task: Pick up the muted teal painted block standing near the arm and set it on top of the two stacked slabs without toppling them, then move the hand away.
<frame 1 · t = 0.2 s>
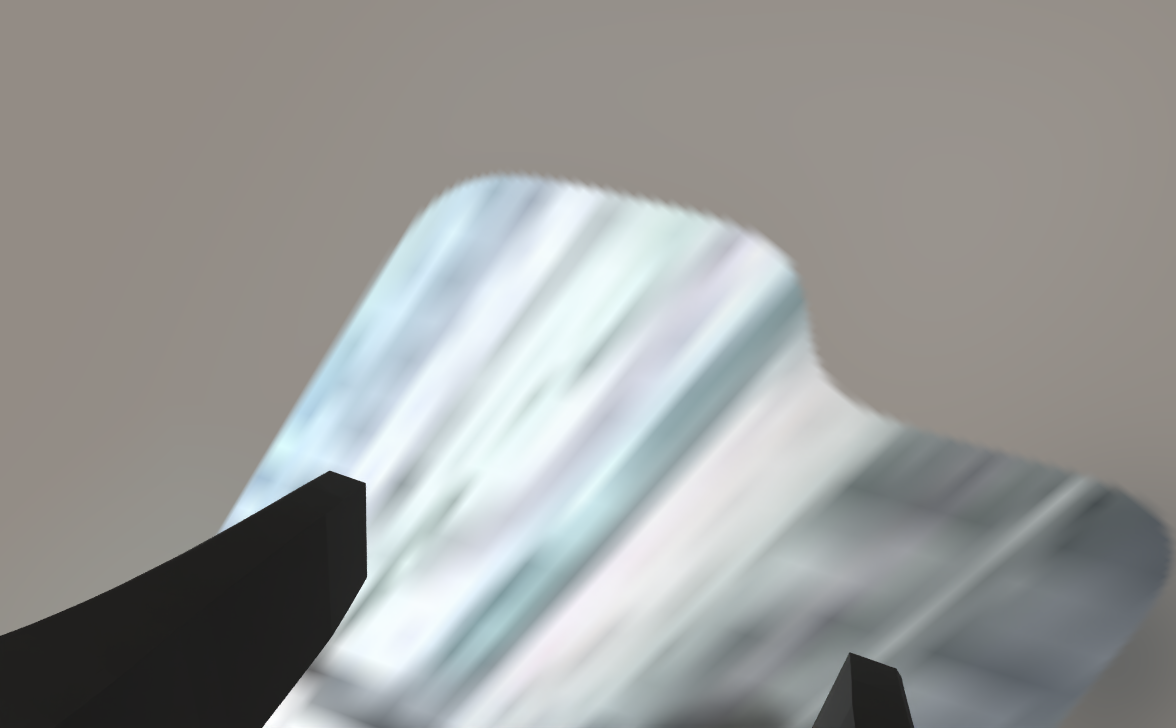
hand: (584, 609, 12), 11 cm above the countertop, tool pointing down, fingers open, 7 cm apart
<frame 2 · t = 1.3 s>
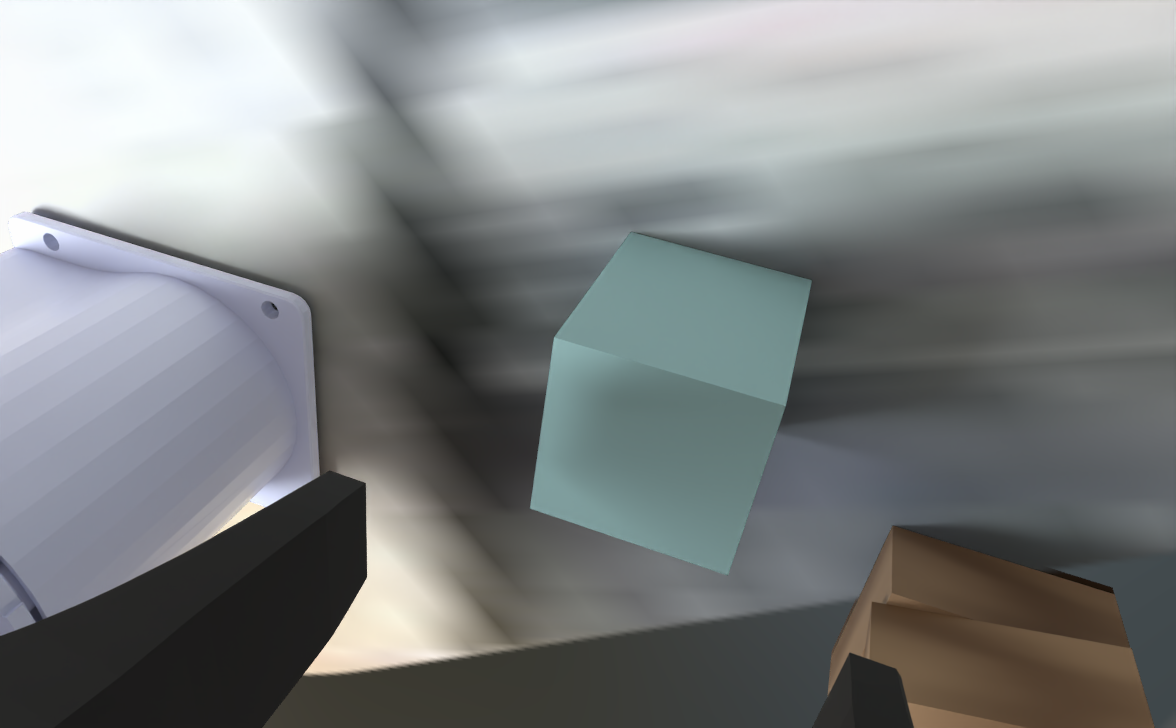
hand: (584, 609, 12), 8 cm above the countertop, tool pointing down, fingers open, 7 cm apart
tower base: (959, 622, 21), on the countertop
teal block: (700, 333, 19), on the countertop
tower top: (975, 702, 19), point 2 cm above the countertop
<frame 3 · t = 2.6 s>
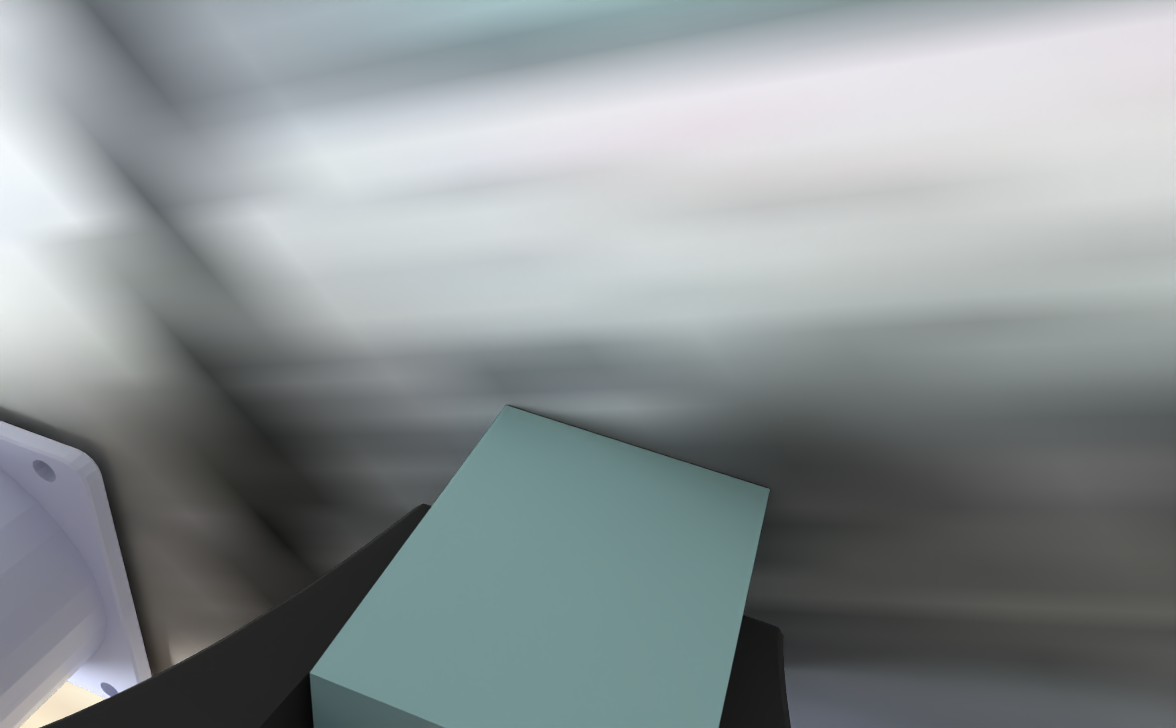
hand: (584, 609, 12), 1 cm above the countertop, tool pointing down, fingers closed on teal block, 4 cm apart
teal block: (612, 543, 13), on the countertop, touching gripper
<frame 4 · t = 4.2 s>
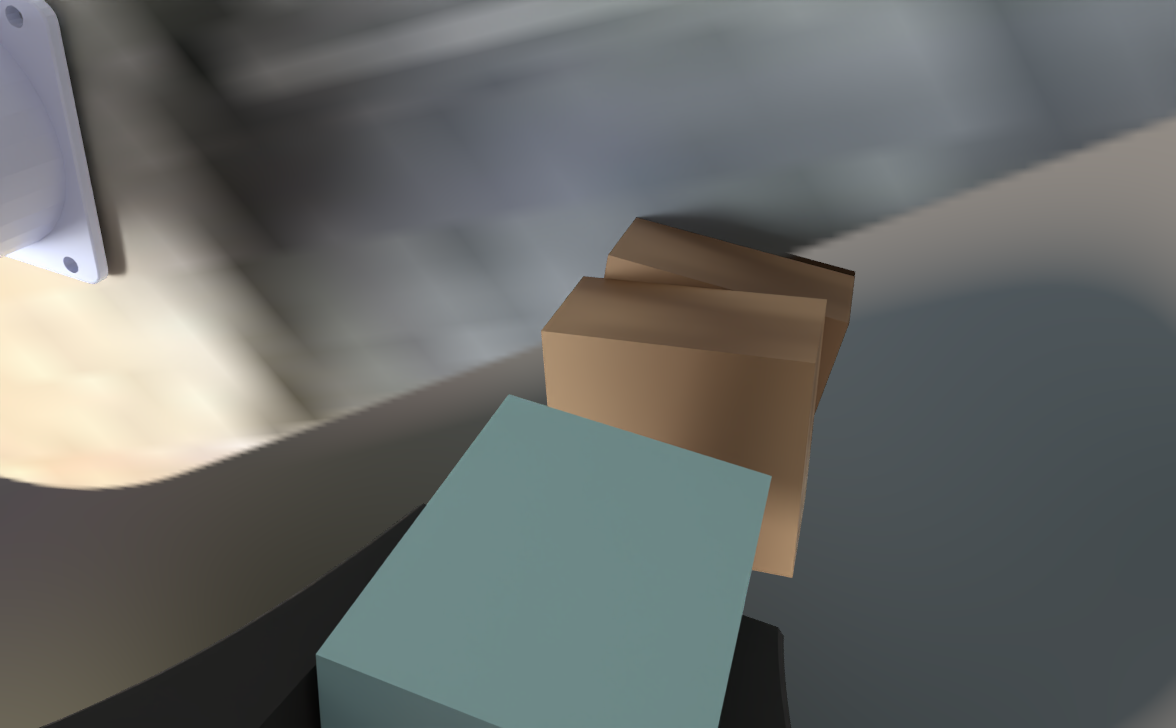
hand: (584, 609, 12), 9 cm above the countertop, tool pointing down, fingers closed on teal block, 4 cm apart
tower base: (719, 334, 20), on the countertop, touching tower top
teal block: (615, 532, 13), point 8 cm above the countertop, touching gripper
tower top: (697, 391, 18), point 2 cm above the countertop, touching tower base
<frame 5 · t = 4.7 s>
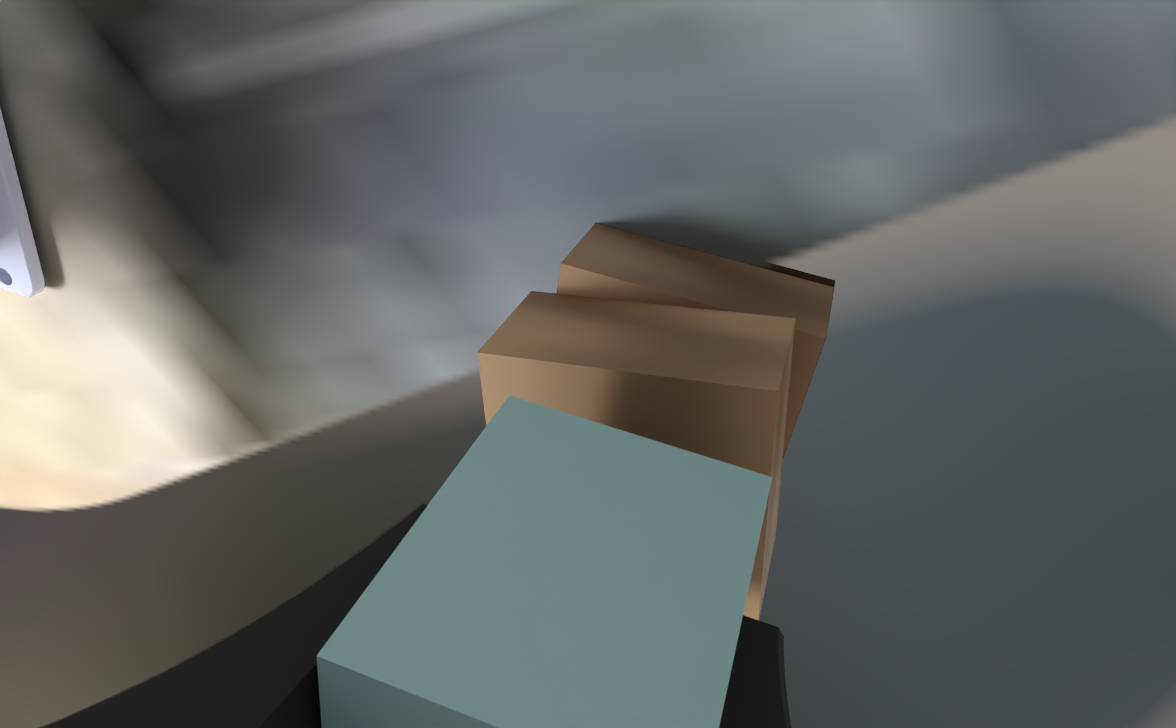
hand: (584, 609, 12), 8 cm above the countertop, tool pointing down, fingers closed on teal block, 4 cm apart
tower base: (689, 349, 18), on the countertop, touching tower top
teal block: (615, 533, 13), point 6 cm above the countertop, touching gripper
tower top: (657, 416, 17), point 2 cm above the countertop, touching tower base
when the fingers open (7 cm above the countertop, at t = 5.1 s): teal block drops 1 cm, resting on tower top.
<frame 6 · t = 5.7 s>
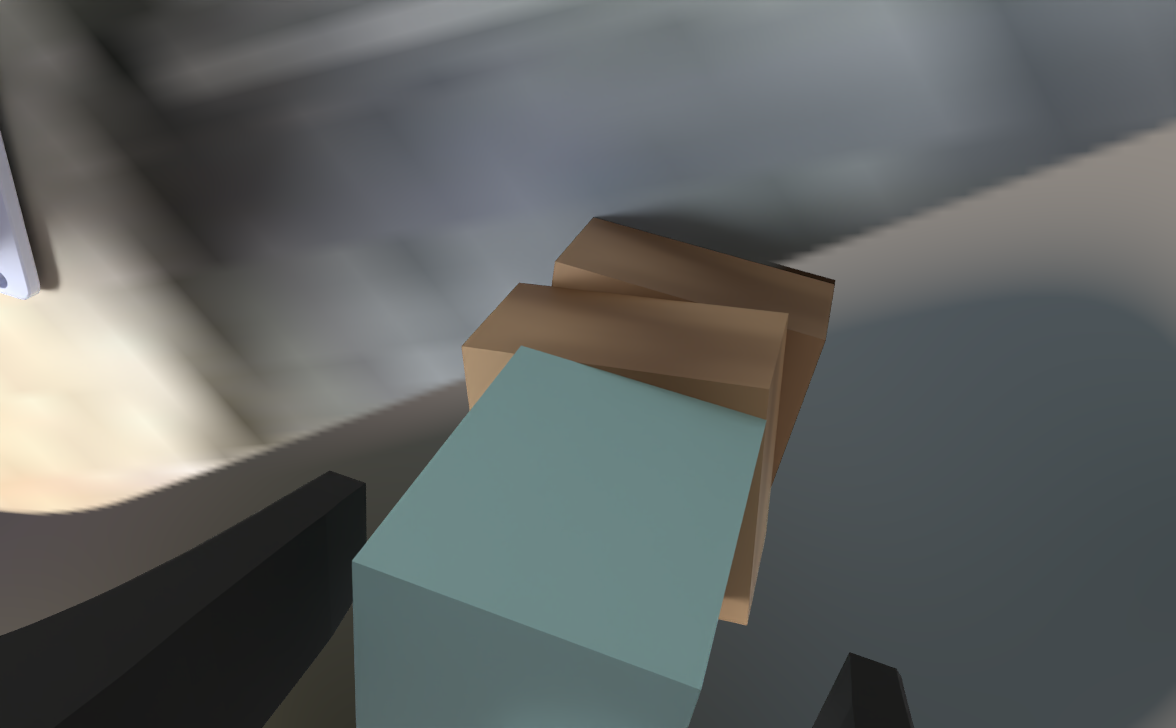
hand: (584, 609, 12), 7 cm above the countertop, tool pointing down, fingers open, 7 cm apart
tower base: (686, 348, 18), on the countertop
teal block: (619, 477, 14), point 5 cm above the countertop, touching tower top
tower top: (646, 412, 16), point 2 cm above the countertop, touching teal block
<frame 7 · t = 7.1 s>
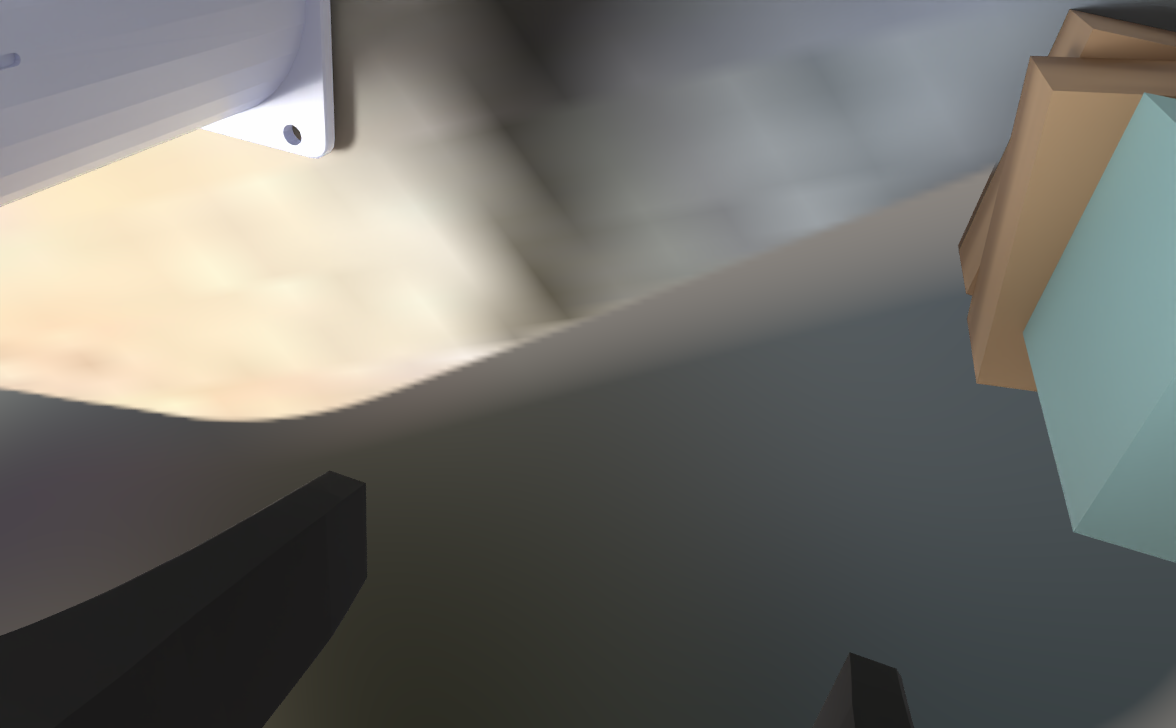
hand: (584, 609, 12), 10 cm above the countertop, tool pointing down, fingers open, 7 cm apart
tower base: (1136, 167, 16), on the countertop, touching tower top
tower top: (1150, 210, 15), point 2 cm above the countertop, touching teal block, tower base
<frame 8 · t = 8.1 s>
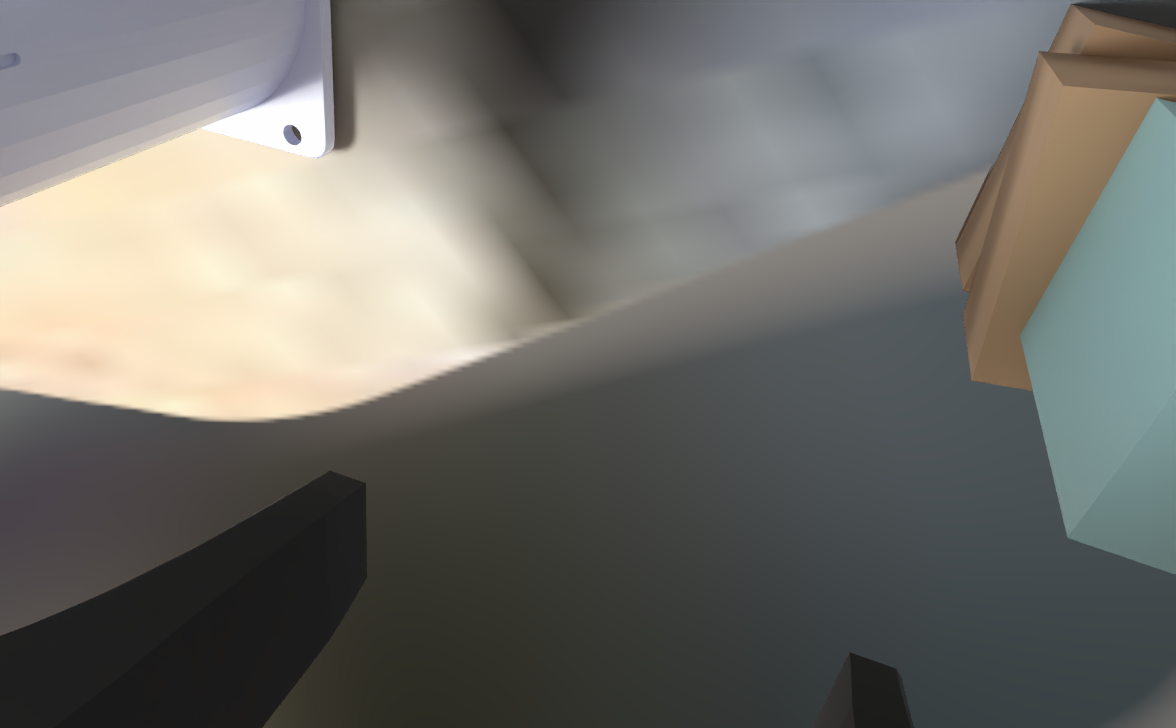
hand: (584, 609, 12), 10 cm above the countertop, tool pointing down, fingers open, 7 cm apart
tower base: (1135, 165, 16), on the countertop, touching tower top
tower top: (1151, 212, 14), point 2 cm above the countertop, touching teal block, tower base
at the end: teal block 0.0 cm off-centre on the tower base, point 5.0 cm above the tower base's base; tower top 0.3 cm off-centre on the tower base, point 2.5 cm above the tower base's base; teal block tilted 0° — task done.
